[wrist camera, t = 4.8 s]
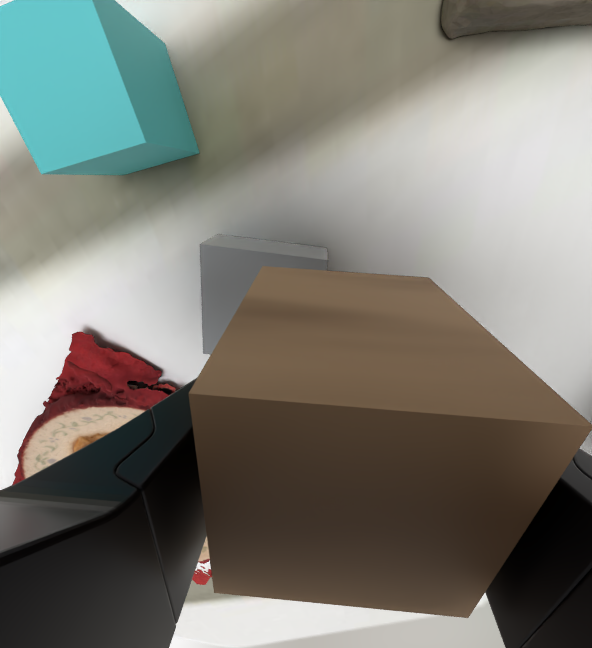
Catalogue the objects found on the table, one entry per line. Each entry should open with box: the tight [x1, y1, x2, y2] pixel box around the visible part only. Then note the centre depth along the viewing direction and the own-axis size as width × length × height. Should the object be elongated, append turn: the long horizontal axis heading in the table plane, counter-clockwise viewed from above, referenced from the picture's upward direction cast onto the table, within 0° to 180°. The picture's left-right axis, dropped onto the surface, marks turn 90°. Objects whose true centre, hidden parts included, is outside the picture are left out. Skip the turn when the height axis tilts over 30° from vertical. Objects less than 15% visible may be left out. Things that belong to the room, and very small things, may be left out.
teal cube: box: [0, 0, 199, 175], centre depth 14 cm, size 5×5×6 cm
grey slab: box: [200, 234, 328, 354], centre depth 20 cm, size 7×7×4 cm
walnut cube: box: [188, 266, 592, 618], centre depth 8 cm, size 5×5×6 cm
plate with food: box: [12, 332, 212, 585], centre depth 30 cm, size 25×26×4 cm
